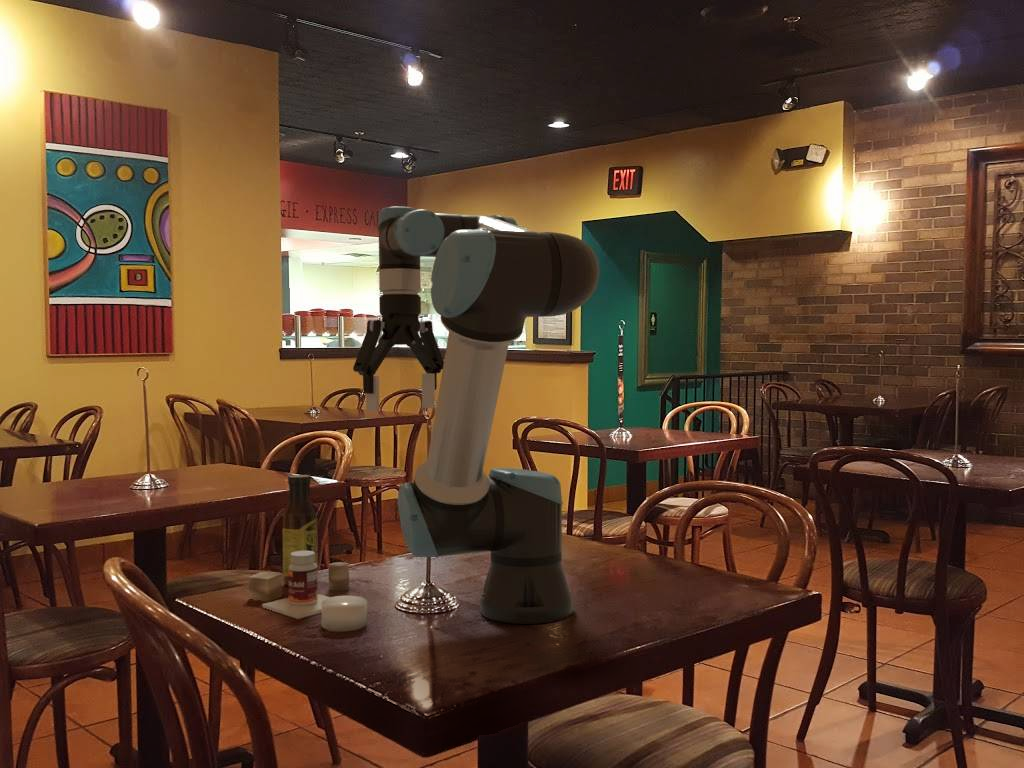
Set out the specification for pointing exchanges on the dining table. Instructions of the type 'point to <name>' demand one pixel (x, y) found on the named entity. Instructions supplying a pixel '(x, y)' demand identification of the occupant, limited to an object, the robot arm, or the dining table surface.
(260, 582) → the beech block
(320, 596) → the tile
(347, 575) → the cork
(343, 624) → the white squat cylinder
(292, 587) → the pill bottle
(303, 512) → the sauce bottle
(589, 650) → the dining table surface
